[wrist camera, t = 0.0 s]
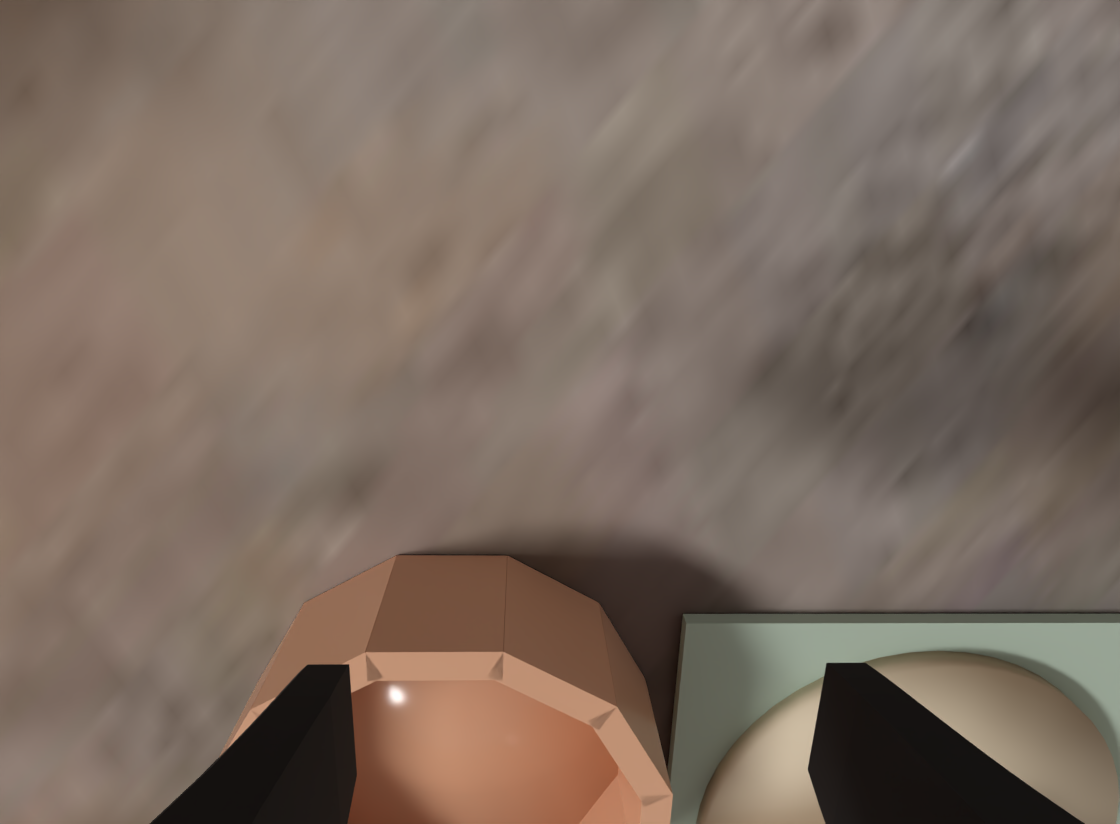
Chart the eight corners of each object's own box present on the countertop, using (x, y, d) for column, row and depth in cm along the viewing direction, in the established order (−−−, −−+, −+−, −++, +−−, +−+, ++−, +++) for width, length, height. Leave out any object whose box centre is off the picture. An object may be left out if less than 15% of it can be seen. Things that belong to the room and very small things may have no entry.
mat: (1055, 967, 28) (1064, 981, 28) (646, 979, 27) (649, 993, 27) (1178, 613, 23) (1192, 622, 23) (682, 613, 22) (686, 623, 22)
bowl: (630, 859, 25) (651, 999, 21) (280, 866, 25) (229, 1012, 20) (655, 556, 22) (688, 651, 17) (242, 554, 21) (171, 653, 17)
